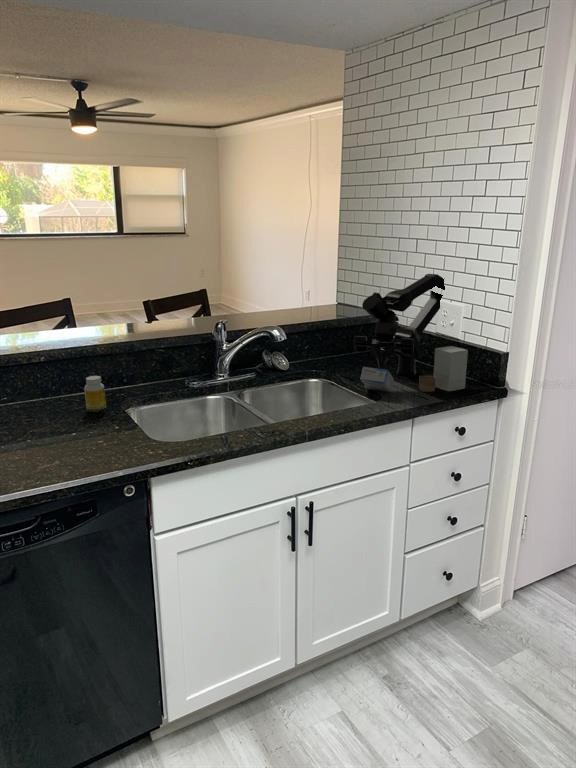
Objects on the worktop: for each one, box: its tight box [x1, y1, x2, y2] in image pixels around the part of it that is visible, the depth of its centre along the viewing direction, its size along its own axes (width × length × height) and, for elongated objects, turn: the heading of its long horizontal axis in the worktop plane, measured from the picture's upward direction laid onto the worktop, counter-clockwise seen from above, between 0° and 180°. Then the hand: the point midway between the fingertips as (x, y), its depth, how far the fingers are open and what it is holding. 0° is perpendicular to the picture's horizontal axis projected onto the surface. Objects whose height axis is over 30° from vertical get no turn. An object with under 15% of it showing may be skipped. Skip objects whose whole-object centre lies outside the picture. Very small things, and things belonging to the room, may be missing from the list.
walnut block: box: [418, 375, 436, 393], centre depth 178 cm, size 4×4×4 cm
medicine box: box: [359, 366, 395, 392], centre depth 175 cm, size 8×4×9 cm
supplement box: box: [432, 345, 469, 392], centre depth 179 cm, size 7×7×13 cm
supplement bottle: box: [83, 375, 107, 411], centre depth 159 cm, size 5×5×10 cm
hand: (381, 368), depth 176 cm, fingers closed
